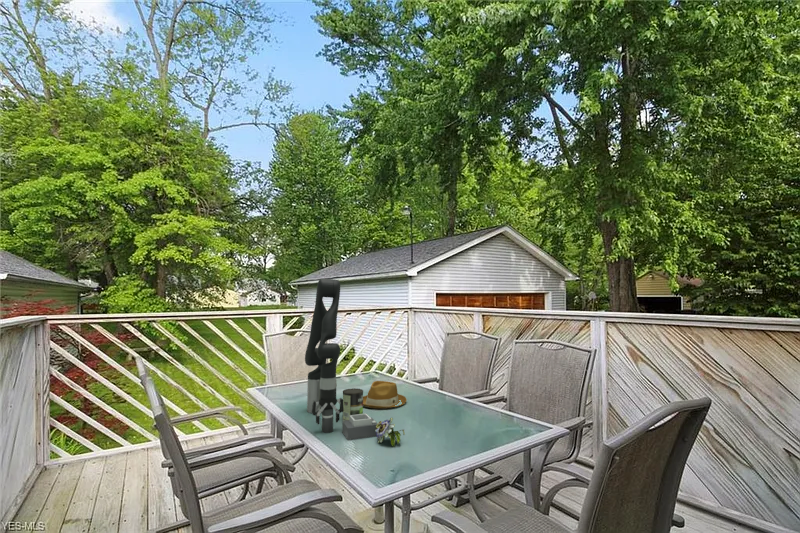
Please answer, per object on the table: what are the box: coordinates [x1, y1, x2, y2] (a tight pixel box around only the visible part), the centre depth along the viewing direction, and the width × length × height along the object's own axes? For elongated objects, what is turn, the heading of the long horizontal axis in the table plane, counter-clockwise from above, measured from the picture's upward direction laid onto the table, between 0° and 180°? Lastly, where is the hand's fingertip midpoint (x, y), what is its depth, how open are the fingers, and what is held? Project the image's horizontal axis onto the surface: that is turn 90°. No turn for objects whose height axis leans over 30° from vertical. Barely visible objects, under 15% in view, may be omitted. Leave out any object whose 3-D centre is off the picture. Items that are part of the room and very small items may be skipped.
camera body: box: [341, 413, 379, 441], centre depth 178 cm, size 10×14×8 cm
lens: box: [321, 409, 334, 434], centre depth 182 cm, size 5×5×10 cm
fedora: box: [363, 380, 407, 410], centre depth 228 cm, size 27×29×12 cm
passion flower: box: [375, 417, 406, 448], centre depth 169 cm, size 11×11×12 cm
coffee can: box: [342, 387, 364, 421], centre depth 199 cm, size 10×10×14 cm
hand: (327, 422), depth 182 cm, fingers open, 8 cm apart
